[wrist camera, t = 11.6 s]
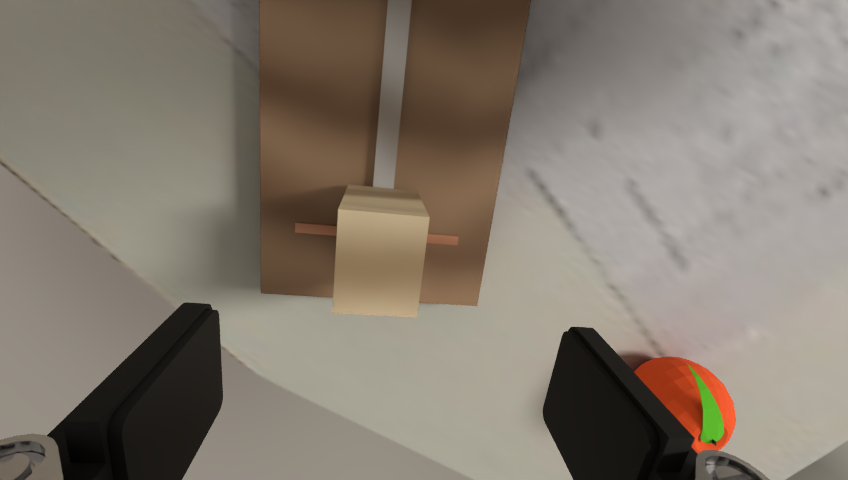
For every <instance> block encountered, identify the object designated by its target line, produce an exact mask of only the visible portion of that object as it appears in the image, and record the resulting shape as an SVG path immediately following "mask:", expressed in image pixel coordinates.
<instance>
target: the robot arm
mask: <svg viewBox="0 0 848 480" xmlns="http://www.w3.org/2000/svg"><path fill="white" fill-rule="evenodd" d="M222 389H223V388H222V367H221V346H220V325H219V313H218V311H217V310H212V307H211V305H210V304H201V303H183V304H182V305H181V306H180V307H179V308H178V309H177V310H176V311H175V312H174V313H173V314H172V315H171V316H170V317H169V318H168V319H167V320H166V321H164V322H163V323H162V324H161V325H160V326H159V327H158V328H157V329H156V330H155V331H154V332H153V333H152V334H151V335H150V336H149V337H148V338H147V339H146V340H145V341H144V342H143V343H142V344H141V345H140V346H139V347H138V348H137V349H136V350H135V351H134V352H133V353H132V354H131V355H129V356H128V358H127V359H125V360H124V361H123V362H122V363H121V364H120V365H119V366H118V367H117V368H116V369H115V370H114V371H113V372H112V373H111V374H110V375H109V376H108V377H107V378H106V379H105V380H104V381H103V382H102V383H101V384H100V385H99V386H98V387H97V388H95V389H94V390H93V391H92V392H91V393H90V394H89V395H88V396H87V397H86V398H85V399H84V400H83V401H82V402H81V403H80V404H79V405H78V406H77V407H76V408H75V409H74V410H73V411H72V412H71V413H70V414H69V415H68V416H67V417H66V418H65V419H64V420H63V421H61V422H60V423H59V425H57V426H56V427H55V428H54V429H53V430H52V431H51V432H50V433H49V434H48V435H47V436H46V435H39V434H26V435H18V436H13V437H9V438H5V439H2V440H0V480H182V478H183V477H184V475H185V473H186V471H187V469H188V468H189V466H190V464H191V462H192V460H193V458H194V456H195V455H196V453H197V451H198V449H199V448H200V446H201V444H202V442H203V440H204V438H205V437H206V435H207V433H208V431H209V429H210V427H211V426H212V424H213V422H214V420H215V418H216V416H217V415H218V413H219V411H220V408H221V405H222V400H223V390H222ZM543 417H544V421H545V423H546V425H547V427H548V429H549V431H550V433H551V435H552V437H553V439H554V441H555V443H556V445H557V447H558V449H559V451H560V453H561V455H562V457H563V459H564V461H565V463H566V466H567V468H568V470H569V472H570V474H571V476H572V478H573V480H769V479H768V478H767V477H766V476H765V475H764V474H762V473H761V472H760V471H759V470H757V469H756V468H754V467H753V466H751V465H750V464H749V463H747V462H745V461H743V460H741V459H739V458H737V457H736V456H733V455H730V454H728V453H725V452H721V451H716V450H703V451H702V452H700V453H698V454H697V453H696V451H695V450H694V449H693V448H692V447H691V446H692V444H693V442H694V439H695V438H694V437H693V436H692V435H691V434H690V432H689V431H688V430H687V429H686V428H685V427H684V426H683V425H682V424H681V423H680V422H679V421H678V419H677V418H676V417H675V416H674V415H673V414H672V413H671V412H670V411H669V410H668V409H667V408H666V406H665V405H664V404H663V403H662V402H661V401H660V400H659V399H658V398H657V397H656V396H655V395H654V393H653V392H652V391H651V390H650V389H649V388H648V387H647V386H646V385H645V384H644V383H643V382H642V380H641V379H640V378H639V377H638V376H637V375H636V374H635V373H634V372H633V371H632V370H631V369H630V367H629V366H628V365H627V364H626V363H625V362H624V361H623V360H622V359H621V358H620V357H619V356H618V354H617V353H616V352H615V351H614V350H613V349H612V348H611V347H610V346H609V345H608V344H607V343H606V341H605V340H604V339H603V338H602V337H601V336H600V335H599V334H598V333H597V332H596V331H595V330H594V329H593V328H585V327H571V328H570V329H569V330H568V332H567V331H566V332H564V333H563V335H562V338H561V342H560V346H559V350H558V354H557V357H556V361H555V365H554V369H553V372H552V376H551V380H550V384H549V388H548V391H547V395H546V399H545V403H544V406H543Z"/></svg>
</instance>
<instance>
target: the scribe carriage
mask: <svg viewBox="0 0 848 480" xmlns="http://www.w3.org/2000/svg"><path fill="white" fill-rule="evenodd" d="M429 219H430V217H429V215H428V213H427V210H426V208H425V206H424V204H423V202H422V200H421V198H420V196H419V194H418V192H417V191H410V190H400V189H390V188H380V187H370V186H359V185H349V184H348V187H347V189H346V191H345V194H344V196H343V199H342V201H341V203H340V206H339V208H338V221H337V239H336V257H335V275H334V293H333V311H332V313H345V314H364V315H383V316H402V317H417V313H418V305H419V298H420V290H421V282H422V274H423V266H424V258H425V250H426V243H427V235H428V227H429Z"/></svg>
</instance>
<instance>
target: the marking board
mask: <svg viewBox="0 0 848 480" xmlns="http://www.w3.org/2000/svg"><path fill="white" fill-rule="evenodd" d="M530 3H531V0H260V199H261V293H266V294H283V295H300V296H317V297H333V293H334V275H335V257H336V239H337V221H338V208H339V206H340V203H341V201H342V199H343V196H344V194H345V191H346V189H347V187H348V184H349V185H359V186H370V187H380V188H390V189H400V190H410V191H417V192H418V194H419V196H420V198H421V200H422V202H423V204H424V206H425V208H426V210H427V213H428V215H429V217H430V219H429V227H428V235H427V243H426V250H425V258H424V266H423V274H422V282H421V290H420V298H419V303H436V304H453V305H470V306H477V303H478V298H479V292H480V286H481V281H482V275H483V269H484V264H485V258H486V252H487V247H488V241H489V235H490V230H491V224H492V218H493V213H494V207H495V201H496V196H497V190H498V184H499V179H500V173H501V167H502V162H503V156H504V150H505V145H506V139H507V133H508V128H509V122H510V116H511V111H512V105H513V100H514V94H515V88H516V83H517V77H518V71H519V66H520V60H521V54H522V49H523V43H524V37H525V32H526V26H527V20H528V15H529V9H530Z"/></svg>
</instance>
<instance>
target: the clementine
mask: <svg viewBox="0 0 848 480" xmlns="http://www.w3.org/2000/svg"><path fill="white" fill-rule="evenodd" d="M634 373H635V374H636V375H637V376H638V377H639V378H640V379H641V380H642V382H643V383H644V384H645V385H646V386H647V387H648V388H649V389H650V390H651V391H652V392H653V393H654V395H655V396H656V397H657V398H658V399H659V400H660V401H661V402H662V403H663V404H664V405H665V406H666V408H667V409H668V410H669V411H670V412H671V413H672V414H673V415H674V416H675V417H676V418H677V419H678V421H679V422H680V423H681V424H682V425H683V426H684V427H685V428H686V429H687V430H688V431H689V432H690V434H691V435H692V436H693V437H694V438H695V439H694V442H693V444H692V446H691V447H692V448H693V449H694V450H695V451H696V453H697V454H698V453H700V452H702V451H703V450H716V451H718V450H720V449H721V448H722V447H724V446H725V445H726V443H727V442H728V441H729V439H730V437H731V435H732V433H733V430H734V427H735V422H736V418H735V410H734V403H733V401H732V399H731V397H730V395H729V393H728V392H727V390H726V388H725V386H724V384H723V383H722V382H721V381H720V380H719V379H718V378H717V377H716V376H715V375H714V374H712V373H711V372H710V371H709V370H708V369H706V368H704V367H702V366H701V365H699V364H697V363H695V362H692V361H690V360H686V359H682V358H678V357H661V358H654V359H652V360H649V361H647V362H645V363H643V364H642V365H640V366H639V367H638V368H637V369H636V370H635V371H634Z"/></svg>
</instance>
